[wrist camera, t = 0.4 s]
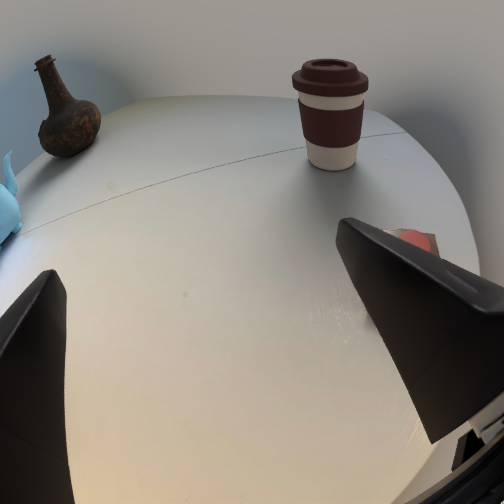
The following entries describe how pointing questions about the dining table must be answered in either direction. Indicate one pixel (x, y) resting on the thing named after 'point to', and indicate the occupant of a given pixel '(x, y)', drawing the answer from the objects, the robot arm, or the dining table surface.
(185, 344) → the dining table surface
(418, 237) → the button
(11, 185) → the teapot
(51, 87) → the glass bottle
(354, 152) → the coffee cup
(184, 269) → the dining table surface
